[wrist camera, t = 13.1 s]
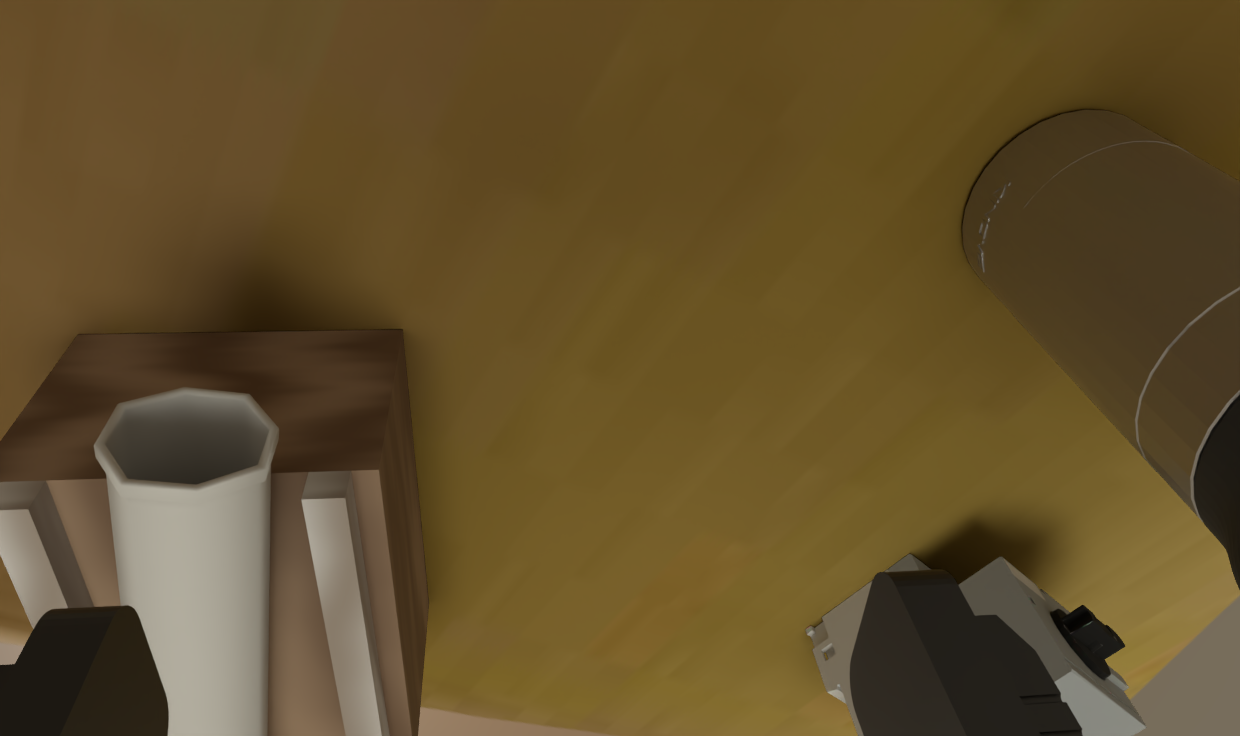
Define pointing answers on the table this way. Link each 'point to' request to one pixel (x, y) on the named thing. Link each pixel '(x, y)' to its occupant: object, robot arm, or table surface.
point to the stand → (299, 508)
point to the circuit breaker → (1050, 629)
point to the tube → (196, 548)
